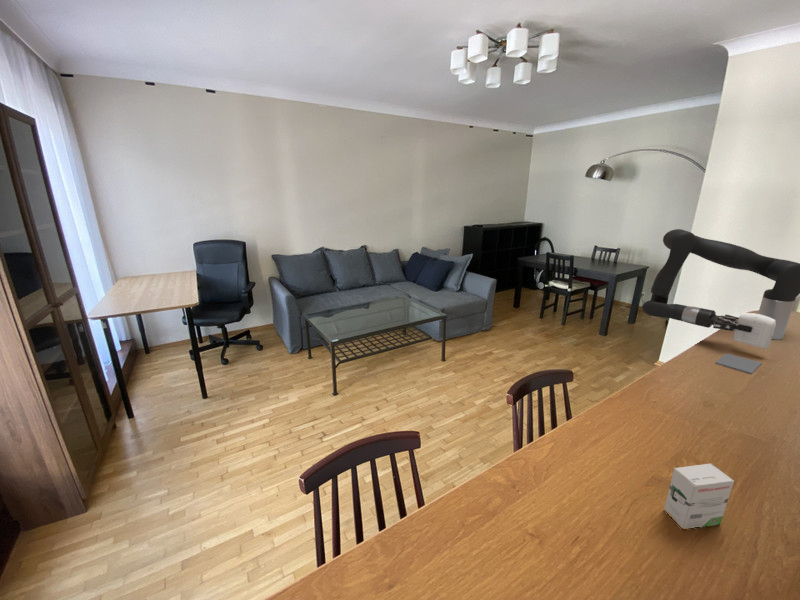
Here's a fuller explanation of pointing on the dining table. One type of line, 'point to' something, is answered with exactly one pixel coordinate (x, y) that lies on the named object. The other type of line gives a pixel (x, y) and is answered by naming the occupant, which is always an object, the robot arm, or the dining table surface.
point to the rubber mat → (738, 363)
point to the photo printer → (755, 330)
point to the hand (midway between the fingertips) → (753, 328)
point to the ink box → (698, 495)
